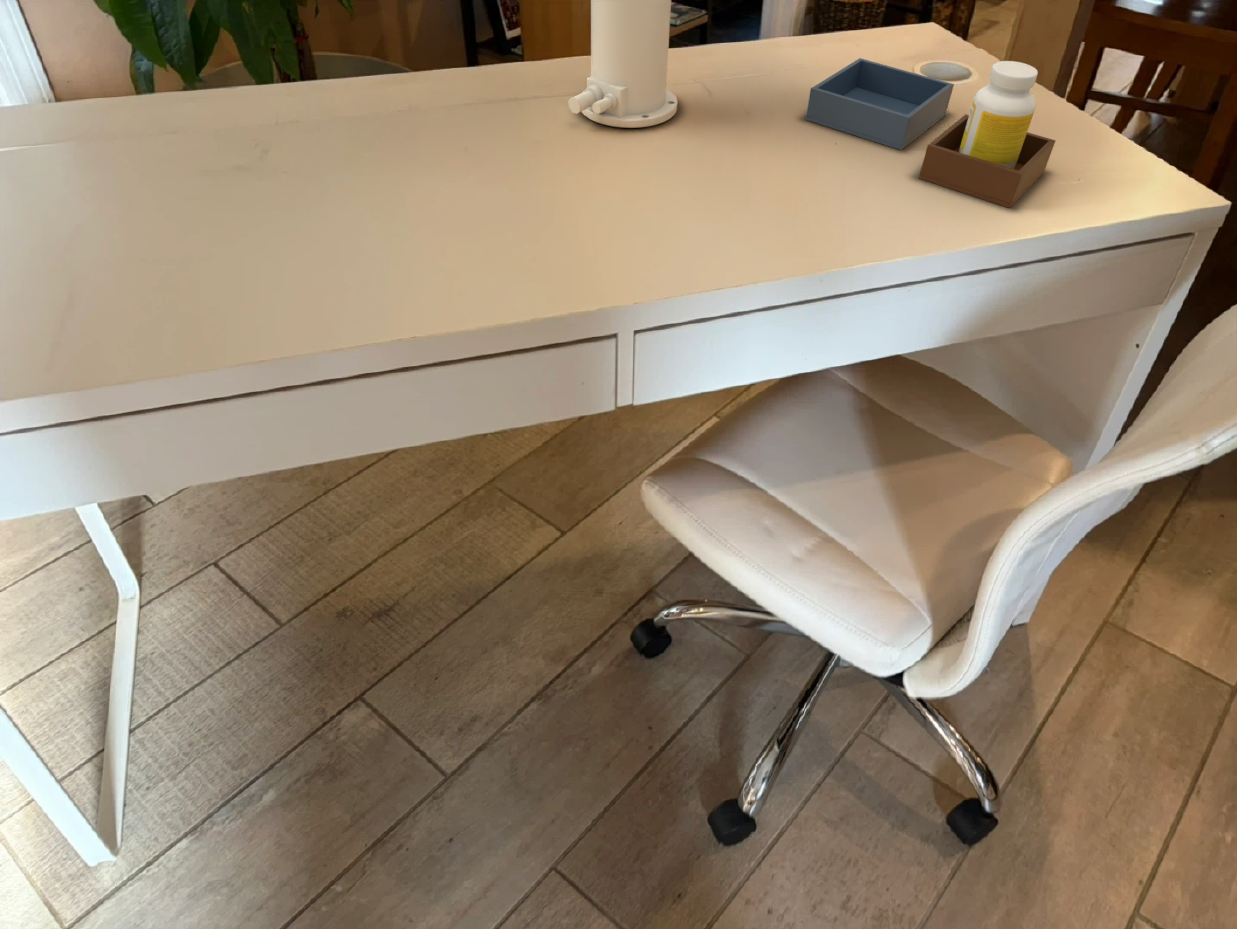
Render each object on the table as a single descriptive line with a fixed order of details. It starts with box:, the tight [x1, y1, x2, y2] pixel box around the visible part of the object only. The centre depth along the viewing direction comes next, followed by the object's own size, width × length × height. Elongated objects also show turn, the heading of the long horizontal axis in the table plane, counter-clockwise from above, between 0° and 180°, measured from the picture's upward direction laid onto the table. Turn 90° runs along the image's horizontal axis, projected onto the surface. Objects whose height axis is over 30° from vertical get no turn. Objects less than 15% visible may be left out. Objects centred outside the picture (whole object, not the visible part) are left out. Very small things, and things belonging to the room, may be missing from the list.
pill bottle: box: [959, 60, 1039, 169], centre depth 100 cm, size 6×6×12 cm
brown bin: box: [918, 114, 1056, 209], centre depth 103 cm, size 11×11×4 cm
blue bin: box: [805, 57, 955, 151], centre depth 114 cm, size 13×13×4 cm
